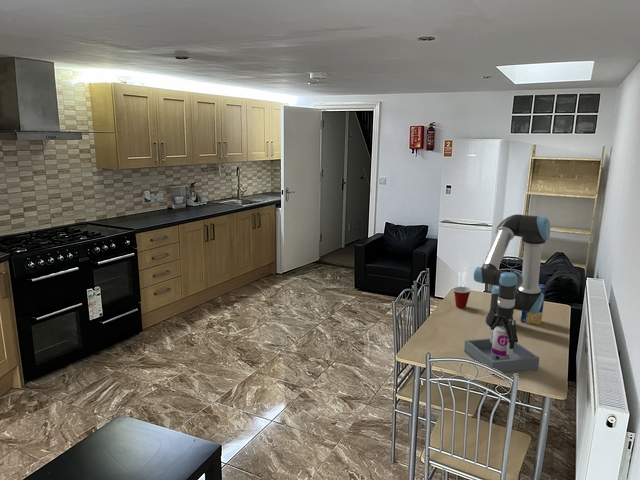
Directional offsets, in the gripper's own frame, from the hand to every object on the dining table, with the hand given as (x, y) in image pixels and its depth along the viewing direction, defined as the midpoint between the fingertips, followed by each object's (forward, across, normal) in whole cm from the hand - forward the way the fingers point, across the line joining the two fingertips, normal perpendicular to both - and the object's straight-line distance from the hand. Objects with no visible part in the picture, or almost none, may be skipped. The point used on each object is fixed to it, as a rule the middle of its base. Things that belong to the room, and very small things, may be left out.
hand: (500, 348), depth 229 cm
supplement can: (+5, 0, 0) cm, 5 cm away
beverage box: (+6, -42, +47) cm, 63 cm away
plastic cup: (+6, -71, +18) cm, 74 cm away
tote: (+6, 0, 0) cm, 6 cm away
